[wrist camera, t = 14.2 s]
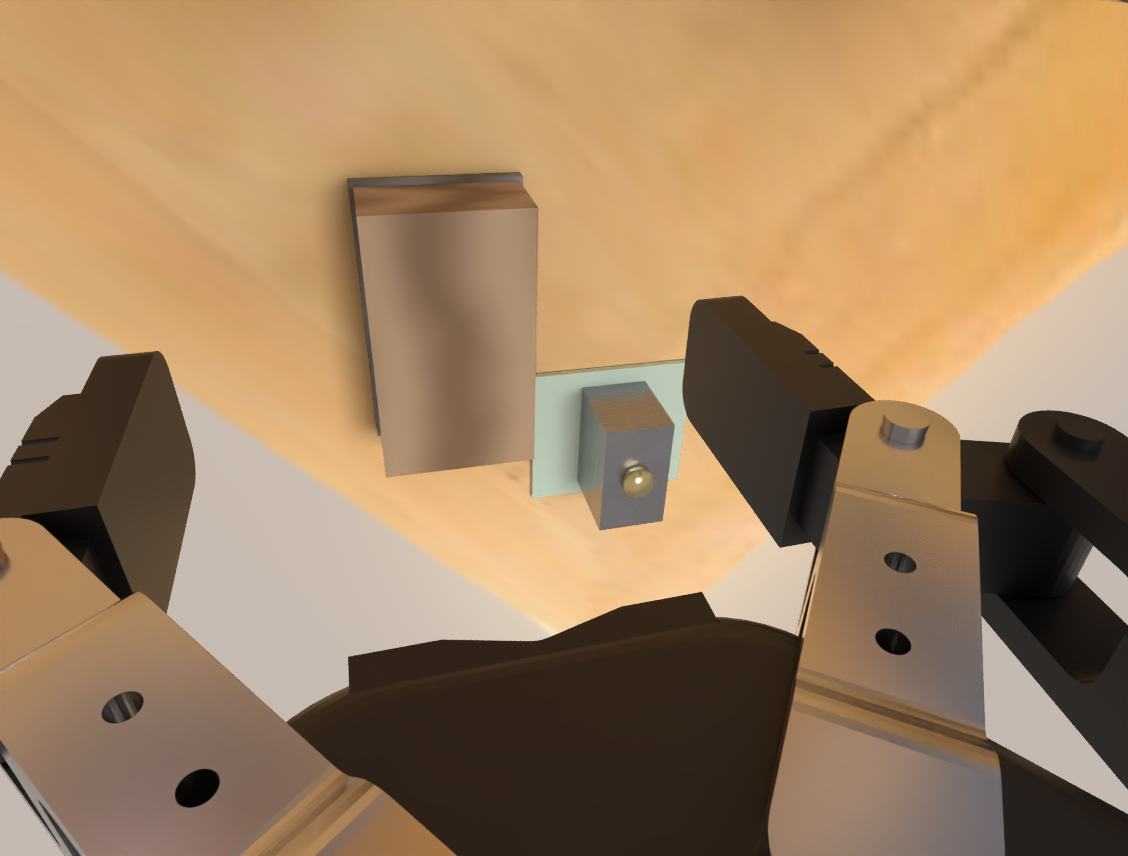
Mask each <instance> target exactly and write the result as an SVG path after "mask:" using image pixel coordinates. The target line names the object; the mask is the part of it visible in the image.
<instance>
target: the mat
mask: <svg viewBox="0 0 1128 856" xmlns="http://www.w3.org/2000/svg"><path fill="white" fill-rule="evenodd" d="M684 366H685V359H683V360H673V361H662V362H652V363H642V364H631V365H621V366H611V367H600V368H590V369H579V370H569V371H559V372H548V373H538V374H536V378H535V440H534V459H533V460H532V464H531V496H532V498H539V497H547V496H554V495H562V494H569V493H577V492H582V490H581V487H580V485H579V483H578V481H577V480H578V460H579V440H580V420H581V400H582V387H592V386H601V385H611V384H620V383H630V382H639V381H646V383H647V384H648V386H649V387H650V389H651V390H652V392H653V393H654V395H655V396H656V398H657V399H658V400H659V402H660V403H661V405H662V406H663V408H664V409H665V411H666V412H667V414H668V415H669V417H670V418H671V420H672V421H673V423H674V424H675V429H674V436H673V444H672V452H671V459H670V467H669V475H668V480H674V479H677V475H678V468H679V461H680V454H681V447H682V440H683V433H684V426H685V419H686V411H685V407H684V403H683V395H682V384H683V374H684Z"/></svg>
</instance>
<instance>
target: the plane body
mask: <svg viewBox="0 0 1128 856" xmlns="http://www.w3.org/2000/svg"><path fill="white" fill-rule="evenodd" d="M348 186H349V194H350V203H351V211H352V220H353V228H354V237H355V245H356V254H357V262H358V271H359V279H360V288H361V296H362V305H363V314H364V322H365V331H366V339H367V348H368V356H369V365H370V373H371V382H372V390H373V399H374V407H375V416H376V424H377V433H378V436H381V437H382V446H383V455H384V463H385V472H386V477H393V476H401V475H410V474H418V473H426V472H434V471H443V470H451V469H459V468H467V467H475V466H484V465H492V464H500V463H508V462H516V461H525V460H533V459H534V440H535V378H536V316H537V254H538V207H537V205H536V204H535V203H534V201H533V200H532V198H531V197H530V195H529V194H528V193H527V191H526V190H525V188H524V187H523V176H522V174H521V173H520V172H519V173H492V174H464V175H437V176H409V177H382V178H354V179H348Z"/></svg>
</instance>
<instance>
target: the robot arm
mask: <svg viewBox="0 0 1128 856" xmlns="http://www.w3.org/2000/svg"><path fill="white" fill-rule="evenodd" d="M1102 1H1110V2H1118V3H1126V4H1128V0H1102ZM682 395H683V403H684V407H685V411H686V414H687V416H688V419H689V420H690V422H691V423H692V425H693V426H694V428H695V429H696V430H697V432H698V433H699V435H700V436H701V437H702V439H703V440H704V442H705V443H706V445H707V446H708V447H709V449H710V450H711V452H712V453H713V454H714V456H715V457H716V459H717V460H718V461H719V463H720V464H721V466H722V467H723V468H724V470H725V471H726V473H727V474H728V475H729V477H730V478H731V480H732V481H733V483H734V484H735V485H736V487H737V488H738V490H739V491H740V492H741V494H742V495H743V497H744V498H745V499H746V501H747V502H748V504H749V505H750V506H751V508H752V509H753V511H754V512H755V514H756V515H757V516H758V518H759V519H760V521H761V522H762V523H763V525H764V526H765V528H766V529H767V530H768V532H769V533H770V535H771V536H772V537H773V539H774V540H775V542H776V543H777V545H778V546H779V547H786V546H792V545H798V544H804V543H809V542H812V543H813V545H814V546H815V547H816V548H815V552H814V556H813V560H812V563H811V567H810V572H809V576H808V581H807V586H806V590H805V594H804V599H803V603H802V607H801V612H800V617H799V621H798V625H797V630H796V634H795V635H794V634H792V633H789V632H787V631H784V630H781V629H778V628H775V627H772V626H768V625H765V624H761V623H757V622H752V621H748V620H742V619H733V618H726V617H715V615H714V613H713V611H712V609H711V608H710V606H709V604H708V602H707V600H706V598H705V597H704V595H703V593H702V592H699V593H693V594H688V595H682V596H677V597H671V598H666V599H661V600H655V601H650V602H644V603H639V604H633V605H628V606H622V607H620V608H617V609H615V610H612V611H610V612H608V613H605V614H603V615H601V616H598V617H596V618H594V619H591V620H589V621H586V622H584V623H582V624H579V625H577V626H575V627H572V628H570V629H568V630H565V631H563V632H561V633H558V634H556V635H553V636H551V637H549V638H546V639H543V640H539V641H484V640H482V641H481V640H438V641H432V642H427V643H421V644H416V645H410V646H405V647H399V648H394V649H389V650H383V651H378V652H372V653H367V654H361V655H356V656H351V657H348V665H349V687H346V688H344V689H342V690H340V691H337V692H335V693H333V694H331V695H329V696H327V697H325V698H323V699H321V700H320V701H318V702H316V703H314V704H312V705H310V706H309V707H307V708H306V709H304V710H303V711H301V712H300V713H298V714H297V715H295V716H294V717H292V718H291V719H290V720H289V721H287V722H285V721H284V720H283V719H282V718H281V717H279V716H278V715H277V714H276V713H275V712H274V711H273V710H272V709H270V708H269V707H268V706H267V705H266V704H265V703H264V702H263V701H262V700H261V699H259V698H258V697H257V696H256V695H255V694H254V693H253V692H252V691H250V689H248V688H247V687H246V686H245V685H244V684H243V683H242V682H241V681H240V680H239V679H237V678H236V677H235V676H234V675H233V674H232V673H231V672H230V671H229V670H228V669H226V668H225V667H224V666H223V665H222V664H221V663H220V662H219V661H218V660H216V659H215V658H214V657H213V656H212V655H211V654H210V653H209V652H208V651H207V650H205V649H204V648H203V647H202V646H201V645H200V644H199V643H198V642H197V641H196V640H194V639H193V638H192V637H191V636H190V635H189V634H188V633H187V632H186V631H185V630H183V629H182V628H181V627H180V626H179V625H178V624H177V623H176V622H175V621H173V620H172V619H171V618H170V617H169V616H168V615H167V609H168V605H169V600H170V595H171V591H172V587H173V582H174V577H175V573H176V568H177V564H178V559H179V555H180V550H181V546H182V541H183V536H184V532H185V527H186V523H187V518H188V514H189V509H190V505H191V500H192V495H193V490H194V486H195V460H194V453H193V448H192V444H191V440H190V437H189V434H188V430H187V427H186V424H185V421H184V418H183V414H182V411H181V407H180V404H179V401H178V398H177V395H176V391H175V388H174V384H173V381H172V378H171V374H170V371H169V368H168V365H167V363H166V360H165V358H164V357H163V355H162V354H161V353H160V352H159V351H155V352H144V353H134V354H124V355H113V356H104V357H100V358H98V360H97V362H96V364H95V366H94V368H93V370H92V372H91V374H90V376H89V378H88V380H87V382H86V384H85V386H84V388H83V390H82V392H81V394H74V395H73V394H72V395H63V396H62V397H60V398H59V399H58V400H56V401H55V402H54V403H53V404H51V405H50V406H49V407H47V408H46V409H45V410H44V411H42V412H41V413H40V414H39V415H37V416H36V417H35V418H34V419H33V421H32V423H31V425H30V427H29V429H28V430H27V432H26V434H25V435H24V438H23V439H22V446H18V448H17V450H16V452H15V453H14V455H13V457H12V459H11V465H9V466H7V468H6V469H5V471H4V473H3V475H2V477H1V478H0V767H1V769H2V770H3V771H4V773H5V774H6V775H7V777H8V778H9V780H10V781H11V783H12V784H13V785H14V787H15V788H16V789H17V791H18V792H19V794H20V795H21V796H22V798H23V799H24V801H25V802H26V803H27V805H28V806H29V807H30V809H31V810H32V811H33V813H34V814H35V816H36V817H37V818H38V820H39V821H40V823H41V824H42V825H43V827H44V828H45V830H46V831H47V832H48V834H49V835H50V836H51V838H52V839H53V841H54V842H55V843H56V845H57V846H58V848H59V849H60V850H61V852H62V853H63V854H64V856H1128V814H1126V813H1125V812H1123V811H1121V810H1119V809H1117V808H1116V807H1114V806H1112V805H1110V804H1108V803H1106V802H1104V801H1103V800H1101V799H1099V798H1097V797H1095V796H1093V795H1091V794H1090V793H1088V792H1086V791H1084V790H1082V789H1080V788H1079V787H1077V786H1075V785H1073V784H1071V783H1069V782H1067V781H1066V780H1064V779H1062V778H1060V777H1058V776H1056V775H1055V774H1053V773H1051V772H1049V771H1047V770H1045V769H1043V768H1042V767H1040V766H1038V765H1036V764H1034V763H1033V762H1031V761H1029V760H1027V759H1025V758H1023V757H1021V756H1020V755H1018V754H1016V753H1014V752H1012V751H1010V750H1008V749H1007V748H1005V747H1003V746H1001V745H999V744H997V743H996V742H994V741H992V740H990V739H988V738H987V737H986V732H985V713H984V686H983V685H984V683H983V654H982V627H981V626H982V624H981V616H982V617H983V618H984V619H985V621H987V623H988V624H989V625H990V626H991V628H992V629H993V630H994V631H995V632H996V634H997V635H998V636H999V637H1000V638H1001V640H1002V641H1003V642H1004V643H1005V644H1006V645H1007V647H1008V648H1009V649H1010V650H1011V651H1012V653H1013V654H1014V655H1015V656H1016V657H1017V659H1018V660H1019V661H1020V662H1021V663H1022V664H1023V666H1024V667H1025V668H1026V669H1027V670H1028V671H1029V673H1030V674H1031V675H1032V676H1033V677H1034V679H1035V680H1036V681H1037V682H1038V683H1039V684H1040V686H1041V687H1042V688H1043V689H1044V691H1045V692H1046V693H1047V694H1048V695H1049V697H1050V698H1051V699H1052V700H1053V701H1054V702H1055V704H1056V705H1057V706H1058V707H1059V708H1060V710H1061V711H1062V712H1063V713H1064V714H1065V716H1066V717H1067V718H1068V719H1069V720H1070V721H1071V723H1072V724H1073V725H1074V726H1075V727H1076V729H1077V730H1078V731H1079V732H1080V733H1081V735H1082V736H1083V737H1084V738H1085V739H1086V741H1087V742H1088V743H1089V744H1090V745H1091V746H1092V748H1093V749H1094V750H1095V751H1096V752H1097V754H1098V755H1099V756H1100V757H1101V758H1102V759H1103V761H1104V762H1105V763H1106V764H1107V765H1108V767H1109V768H1110V769H1111V770H1112V771H1113V773H1114V774H1115V775H1116V776H1117V777H1118V779H1119V780H1120V781H1121V782H1122V783H1123V784H1124V786H1125V787H1126V788H1127V789H1128V625H1127V624H1126V623H1124V621H1123V620H1122V619H1121V618H1119V616H1118V615H1116V613H1114V612H1113V611H1112V610H1111V609H1110V608H1109V607H1108V606H1107V605H1106V604H1105V603H1104V602H1103V601H1102V600H1101V599H1100V598H1099V597H1098V596H1097V595H1096V594H1095V593H1094V592H1093V591H1092V590H1091V589H1090V588H1089V587H1088V586H1086V585H1085V583H1083V582H1082V581H1081V580H1080V579H1079V578H1078V577H1077V575H1078V574H1079V572H1080V570H1081V568H1082V566H1083V564H1084V562H1085V560H1086V558H1087V556H1088V554H1089V553H1090V551H1091V549H1092V547H1093V546H1095V547H1096V548H1097V549H1098V550H1099V551H1100V552H1101V553H1102V554H1103V555H1105V556H1106V557H1107V558H1108V559H1109V560H1110V561H1111V562H1112V563H1113V564H1115V565H1116V566H1117V567H1118V568H1119V569H1120V570H1121V571H1122V572H1123V573H1124V574H1125V575H1126V576H1127V577H1128V437H1126V436H1125V435H1124V434H1122V433H1120V432H1119V431H1117V430H1116V429H1114V428H1112V427H1110V426H1108V425H1107V424H1104V423H1102V422H1100V421H1097V420H1094V419H1092V418H1089V417H1086V416H1082V415H1078V414H1074V413H1069V412H1063V411H1049V410H1048V411H1036V412H1032V413H1029V414H1026V415H1025V416H1023V417H1022V418H1021V419H1020V420H1019V423H1018V425H1017V428H1016V431H1015V433H1014V435H1013V438H1012V440H1011V443H1001V442H986V441H972V440H960V435H959V433H958V431H957V429H956V428H955V427H954V426H953V425H952V424H951V423H950V422H949V421H948V420H947V419H945V418H944V417H942V416H941V415H939V414H937V413H935V412H933V411H931V410H929V409H926V408H924V407H921V406H918V405H915V404H910V403H906V402H900V401H891V400H879V401H875V400H874V399H873V398H872V397H871V396H870V395H868V394H867V393H866V392H865V391H864V390H863V389H862V388H861V387H860V386H858V385H857V384H856V383H855V382H854V381H853V380H852V379H851V378H850V377H848V376H847V375H846V374H845V373H844V372H843V371H842V370H841V369H840V368H838V367H837V366H835V367H834V366H833V362H832V361H831V360H830V359H828V358H827V357H826V356H825V355H824V354H823V353H819V350H818V349H817V348H816V347H815V346H814V345H813V344H812V343H811V342H810V341H808V340H807V339H806V338H805V337H804V336H803V335H802V334H800V333H798V332H796V331H794V330H792V329H789V328H787V327H785V326H783V325H781V324H779V323H777V322H775V321H774V322H771V321H770V320H769V319H768V318H767V317H766V316H765V315H764V314H763V313H762V312H760V311H759V310H758V309H757V308H756V307H755V306H754V305H753V304H752V303H751V302H750V301H749V300H748V299H746V298H745V297H744V296H732V297H722V298H712V299H702V300H697V301H696V302H695V303H694V305H693V307H692V310H691V315H690V322H689V331H688V340H687V348H686V357H685V366H684V374H683V384H682Z"/></svg>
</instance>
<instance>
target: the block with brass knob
mask: <svg viewBox="0 0 1128 856" xmlns="http://www.w3.org/2000/svg"><path fill="white" fill-rule="evenodd" d="M674 429H675V424H674V423H673V421H672V420H671V418H670V417H669V415H668V414H667V412H666V411H665V409H664V408H663V406H662V405H661V403H660V402H659V400H658V399H657V398H656V396H655V395H654V393H653V392H652V390H651V389H650V387H649V386H648V384H647V383H646V381H639V382H630V383H620V384H611V385H601V386H592V387H582V400H581V420H580V440H579V460H578V480H577V481H578V483H579V485H580V487H581V490H582V492H583V494H584V497H585V499H586V501H587V503H588V506H589V508H590V510H591V512H592V515H593V517H594V519H595V521H596V524H597V526H598V528H599V530H605V529H612V528H619V527H626V526H632V525H639V524H646V523H652V522H659V521H663V513H664V505H665V498H666V490H667V482H668V475H669V467H670V459H671V452H672V444H673V436H674Z"/></svg>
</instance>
